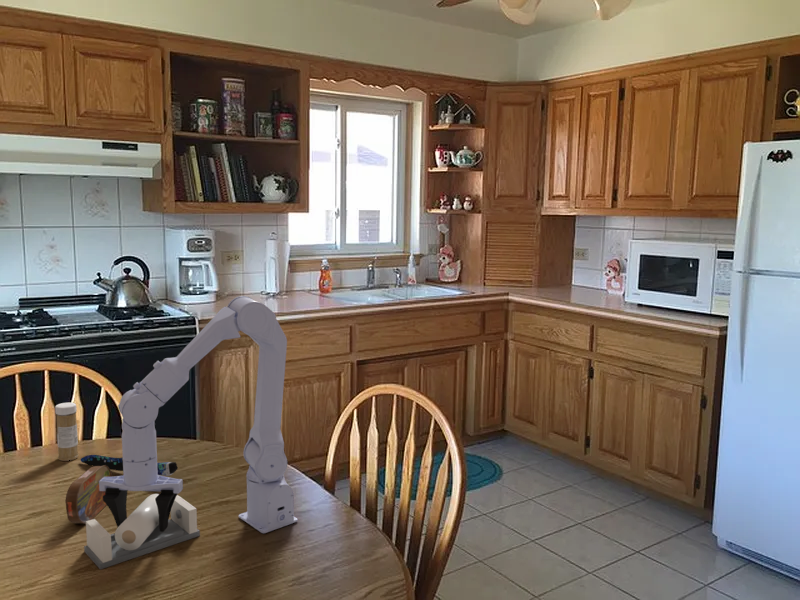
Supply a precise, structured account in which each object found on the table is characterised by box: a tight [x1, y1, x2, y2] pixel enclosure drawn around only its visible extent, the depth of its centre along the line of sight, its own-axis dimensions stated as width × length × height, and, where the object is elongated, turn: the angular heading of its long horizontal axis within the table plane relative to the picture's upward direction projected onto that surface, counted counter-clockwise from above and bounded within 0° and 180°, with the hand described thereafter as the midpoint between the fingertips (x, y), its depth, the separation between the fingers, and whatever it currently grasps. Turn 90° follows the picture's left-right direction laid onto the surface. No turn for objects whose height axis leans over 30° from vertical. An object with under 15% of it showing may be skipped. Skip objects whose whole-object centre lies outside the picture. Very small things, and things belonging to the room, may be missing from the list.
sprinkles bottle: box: [54, 401, 80, 462], centre depth 163 cm, size 5×5×13 cm
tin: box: [65, 465, 113, 525], centre depth 134 cm, size 15×3×8 cm, turn 179°
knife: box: [80, 454, 178, 477], centre depth 154 cm, size 31×3×4 cm, turn 61°
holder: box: [83, 494, 201, 570], centre depth 123 cm, size 8×18×6 cm, turn 133°
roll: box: [115, 493, 160, 550], centre depth 123 cm, size 5×12×5 cm, turn 177°
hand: (142, 528), depth 123 cm, fingers open, 7 cm apart
